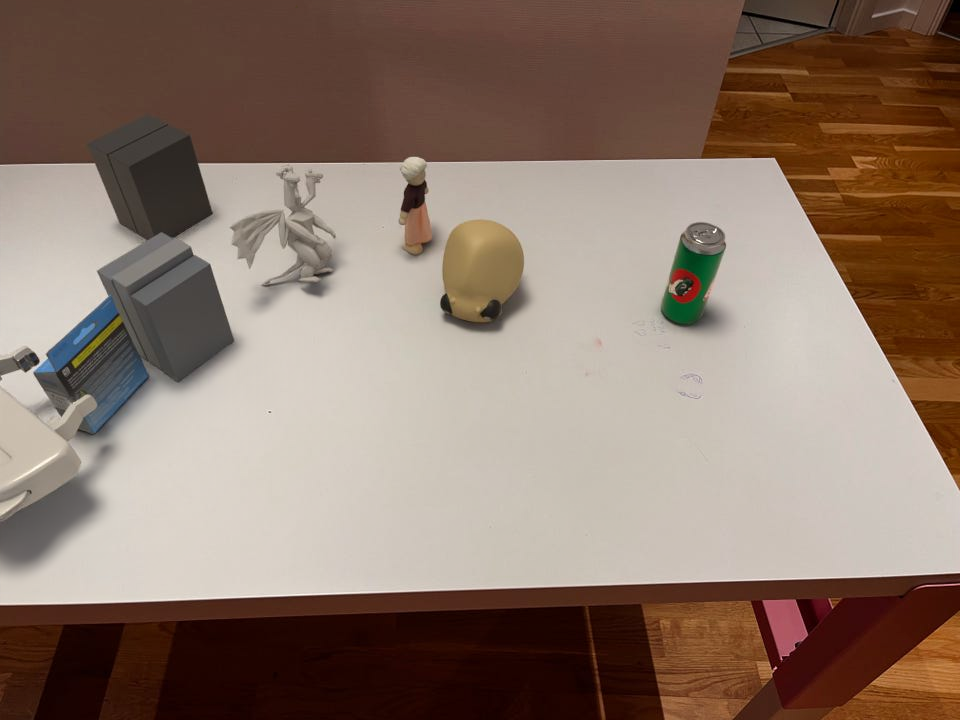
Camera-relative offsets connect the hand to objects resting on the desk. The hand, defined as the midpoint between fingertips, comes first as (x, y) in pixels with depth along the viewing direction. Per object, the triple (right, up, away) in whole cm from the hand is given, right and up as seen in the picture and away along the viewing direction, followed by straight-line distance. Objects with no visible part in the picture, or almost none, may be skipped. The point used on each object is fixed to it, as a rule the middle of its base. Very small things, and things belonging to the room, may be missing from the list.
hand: (61, 374), depth 73 cm
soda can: (+66, +7, +18) cm, 68 cm away
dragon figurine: (+19, +13, +22) cm, 31 cm away
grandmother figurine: (+33, +17, +26) cm, 45 cm away
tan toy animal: (+41, +9, +19) cm, 46 cm away
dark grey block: (-1, +21, +28) cm, 35 cm away
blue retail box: (+1, -3, +6) cm, 7 cm away
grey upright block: (+7, +3, +12) cm, 14 cm away
